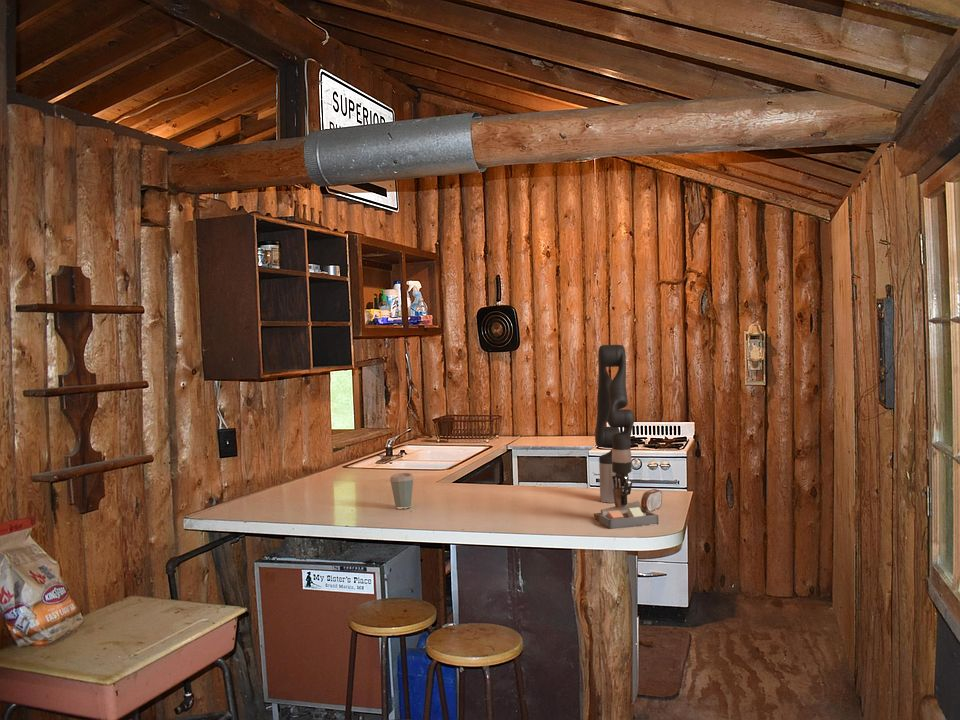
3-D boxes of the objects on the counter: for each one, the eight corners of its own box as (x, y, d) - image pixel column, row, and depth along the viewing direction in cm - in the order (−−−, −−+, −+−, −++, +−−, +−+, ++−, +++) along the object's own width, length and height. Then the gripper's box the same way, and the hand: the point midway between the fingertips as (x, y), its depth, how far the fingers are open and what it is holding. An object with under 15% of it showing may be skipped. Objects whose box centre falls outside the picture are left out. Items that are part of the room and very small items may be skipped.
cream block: (626, 513, 301) (629, 508, 300) (636, 512, 303) (639, 507, 301) (631, 522, 298) (634, 516, 296) (641, 521, 300) (644, 515, 298)
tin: (657, 506, 327) (656, 487, 327) (663, 507, 325) (663, 487, 325) (640, 513, 316) (639, 492, 316) (647, 514, 314) (646, 493, 314)
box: (599, 523, 298) (599, 515, 298) (647, 519, 304) (647, 510, 304) (609, 529, 290) (609, 519, 290) (658, 524, 295) (658, 515, 295)
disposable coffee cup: (410, 510, 334) (409, 476, 334) (387, 510, 336) (386, 476, 336) (417, 505, 344) (416, 472, 344) (394, 505, 347) (393, 472, 346)
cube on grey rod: (601, 517, 301) (597, 492, 301) (638, 507, 305) (634, 483, 304) (604, 518, 298) (600, 493, 298) (641, 509, 302) (637, 485, 301)
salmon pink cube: (607, 518, 299) (608, 511, 298) (617, 516, 301) (618, 510, 299) (612, 524, 295) (613, 517, 294) (622, 523, 297) (623, 516, 295)
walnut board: (593, 518, 309) (593, 513, 308) (632, 514, 313) (632, 509, 313) (603, 523, 299) (603, 518, 299) (643, 519, 303) (643, 514, 303)
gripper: (605, 458, 307) (606, 500, 307) (620, 463, 293) (621, 508, 294) (622, 456, 309) (623, 499, 309) (638, 462, 295) (639, 506, 296)
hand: (622, 503), depth 302 cm, fingers closed on cube on grey rod, 3 cm apart
